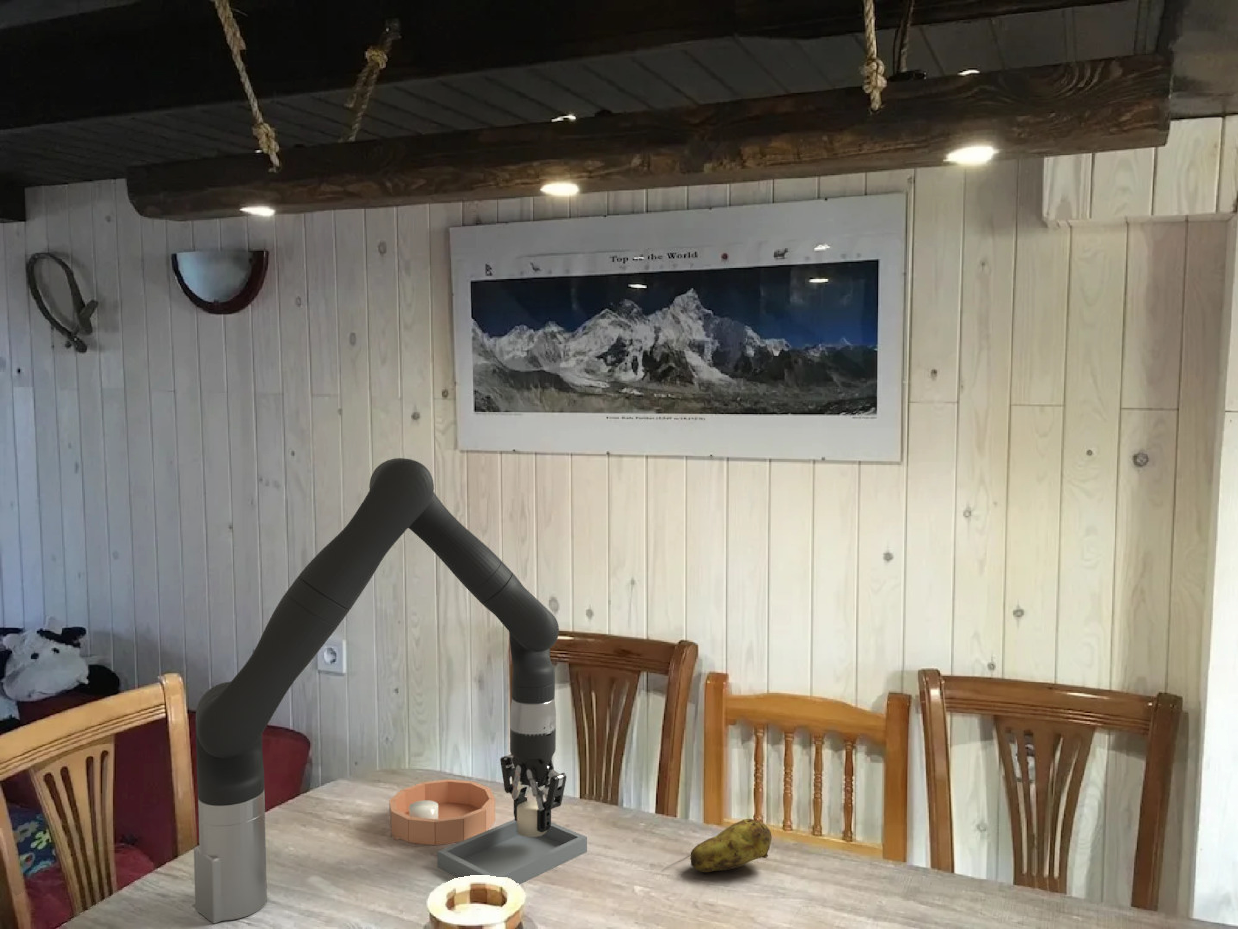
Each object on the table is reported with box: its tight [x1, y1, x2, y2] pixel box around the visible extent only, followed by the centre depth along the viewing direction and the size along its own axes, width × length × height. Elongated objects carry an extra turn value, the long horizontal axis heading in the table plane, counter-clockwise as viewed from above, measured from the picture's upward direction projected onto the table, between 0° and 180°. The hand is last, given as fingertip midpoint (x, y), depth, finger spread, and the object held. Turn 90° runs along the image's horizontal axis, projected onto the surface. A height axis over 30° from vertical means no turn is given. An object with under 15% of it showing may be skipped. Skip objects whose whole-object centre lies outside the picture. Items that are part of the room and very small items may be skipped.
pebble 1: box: [409, 800, 438, 819], centre depth 173 cm, size 5×5×4 cm
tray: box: [436, 818, 588, 885], centre depth 162 cm, size 20×14×4 cm
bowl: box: [388, 778, 496, 846], centre depth 176 cm, size 18×18×5 cm
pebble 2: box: [517, 800, 547, 837], centre depth 165 cm, size 5×5×4 cm
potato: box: [690, 818, 772, 873], centre depth 161 cm, size 8×13×8 cm, turn 81°
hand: (532, 825), depth 165 cm, fingers closed on pebble 2, 5 cm apart
